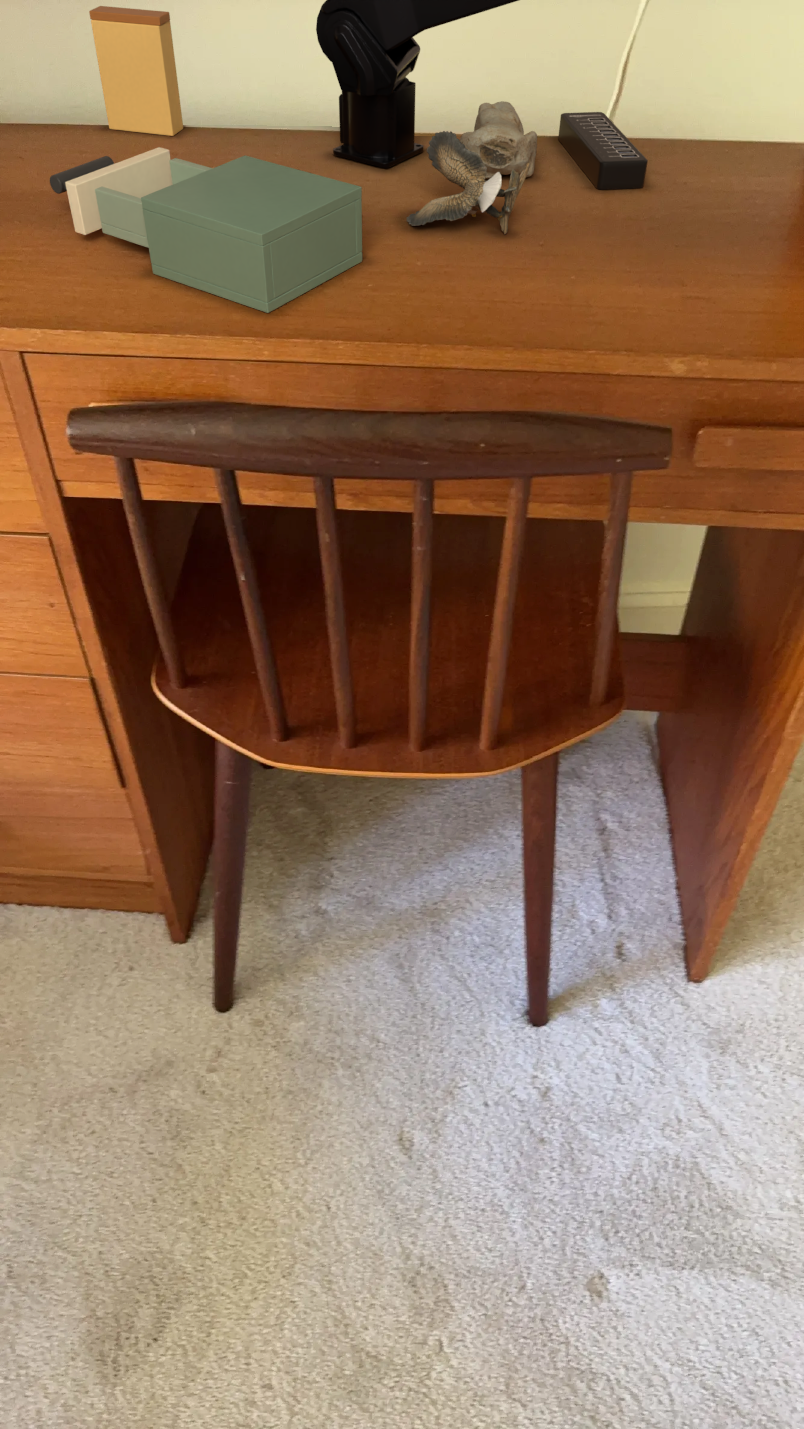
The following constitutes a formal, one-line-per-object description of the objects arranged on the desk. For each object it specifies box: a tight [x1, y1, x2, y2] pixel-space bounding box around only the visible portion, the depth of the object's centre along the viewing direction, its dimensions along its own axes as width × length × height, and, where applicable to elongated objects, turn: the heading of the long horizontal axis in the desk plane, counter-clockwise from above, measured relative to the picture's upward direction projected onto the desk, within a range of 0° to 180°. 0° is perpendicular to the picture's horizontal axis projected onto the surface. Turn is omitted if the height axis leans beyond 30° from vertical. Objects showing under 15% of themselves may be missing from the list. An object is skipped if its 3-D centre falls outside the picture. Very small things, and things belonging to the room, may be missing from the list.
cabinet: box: [141, 155, 363, 314], centre depth 79 cm, size 12×12×6 cm
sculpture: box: [459, 100, 538, 180], centre depth 97 cm, size 7×5×15 cm
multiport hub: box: [557, 111, 649, 191], centre depth 98 cm, size 4×14×2 cm, turn 9°
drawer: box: [49, 146, 214, 249], centre depth 84 cm, size 15×10×4 cm
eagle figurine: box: [406, 130, 530, 235], centre depth 86 cm, size 8×7×9 cm
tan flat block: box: [88, 5, 184, 137], centre depth 101 cm, size 7×2×10 cm, turn 74°
